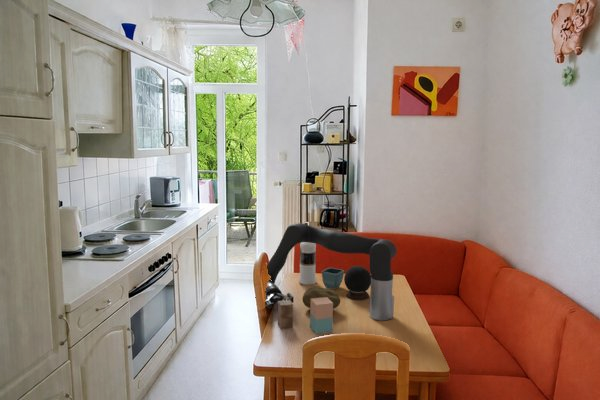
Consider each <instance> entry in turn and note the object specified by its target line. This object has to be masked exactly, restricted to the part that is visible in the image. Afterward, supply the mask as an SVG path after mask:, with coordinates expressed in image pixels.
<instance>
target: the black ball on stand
mask: <svg viewBox="0 0 600 400" xmlns="http://www.w3.org/2000/svg"><path fill="white" fill-rule="evenodd" d="M343 282H344V285H345V287H346V288H347V289H348V291H347V292H346V293H345V298H347V299H349V300H352V301H353V300H354V301H365V299H366V300H368V299H369V298H370V294H369V293H368V292H367V291H368V290H370V288H371V273H370V270H368V269H367V268H365V267H364V266H361V265H354V266H351V267H349V268H348V269H347V270H346V272H344V275H343Z"/></svg>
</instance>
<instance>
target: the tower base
mask: <svg viewBox="0 0 600 400" xmlns="http://www.w3.org/2000/svg"><path fill="white" fill-rule="evenodd" d="M309 315H310V316H309V319H310V320H309V322H310V323H309V326H310V329H311V330H312V332H314V334H315V335H318V334H327V333H333V331H334V330H333V325H334V324H333V323H334V317H333V318H326V319H317V320H316V319H315V318H314V317H313V315H312V314H311V313H310V312H309Z"/></svg>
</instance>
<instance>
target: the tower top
mask: <svg viewBox="0 0 600 400" xmlns="http://www.w3.org/2000/svg"><path fill="white" fill-rule="evenodd" d="M309 309H310V312H309V314H310V313H311V314H312V315H313V317H314V318H315V319H316V320H317V319H326V318H333V319H334V309H333V302H332V301H330V300H329V299H328V298H327V297H322V298H312V299H311V301H310V308H309Z"/></svg>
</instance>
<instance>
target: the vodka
mask: <svg viewBox="0 0 600 400" xmlns="http://www.w3.org/2000/svg"><path fill="white" fill-rule="evenodd" d="M299 244H300V245H299V248H300V250H299V255H300V256H299V276H298V282H299V283H300V284H301V285H303V286H313V285H314V284H316V283H317V277H316V276H317V275H316V267H317V266H316V251H317V249H316V248H317V244H316V243H310V242H302V243H299Z"/></svg>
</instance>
